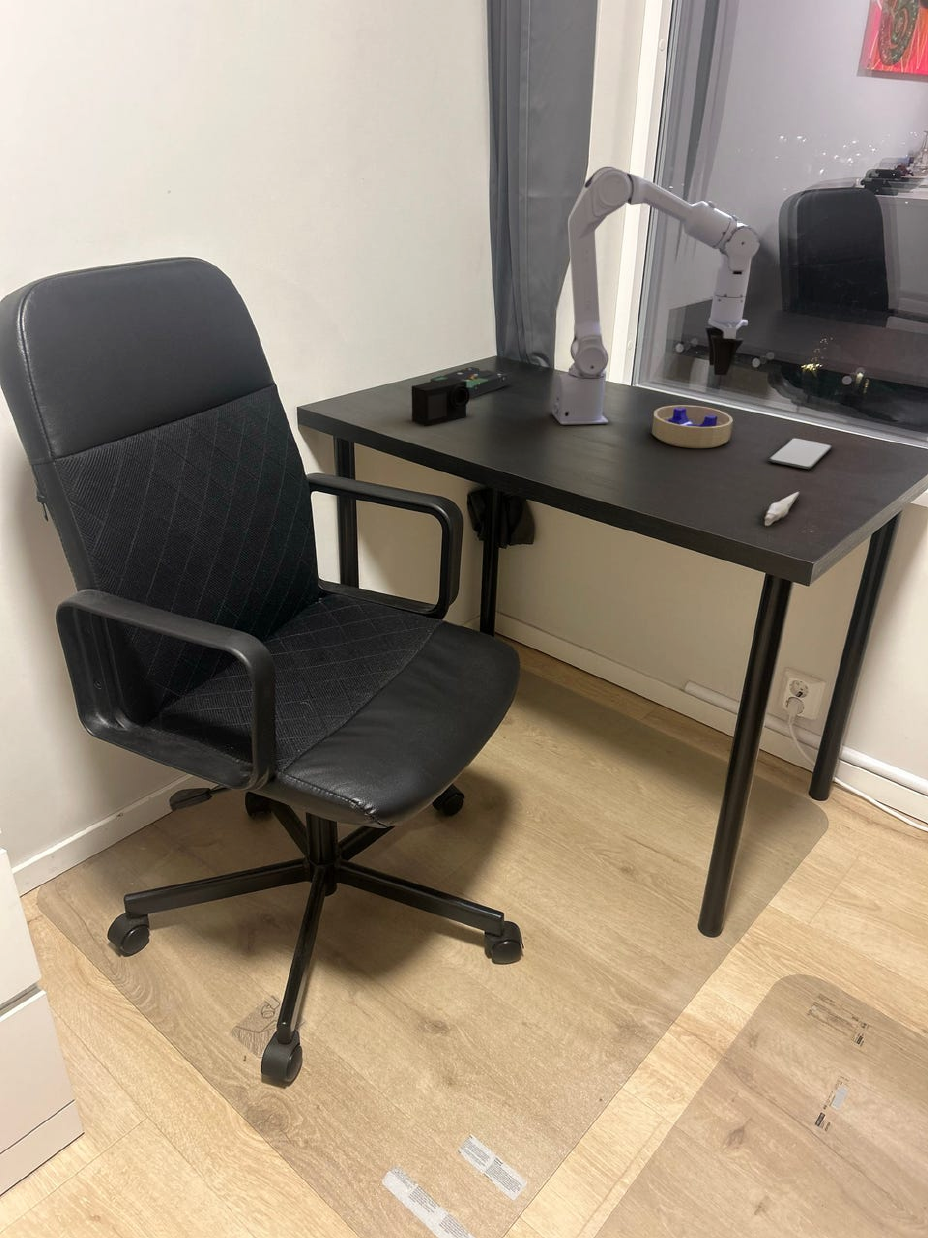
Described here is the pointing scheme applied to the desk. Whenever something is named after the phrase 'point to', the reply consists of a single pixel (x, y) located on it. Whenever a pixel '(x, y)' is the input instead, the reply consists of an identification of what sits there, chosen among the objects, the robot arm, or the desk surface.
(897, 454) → the desk surface
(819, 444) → the smartphone
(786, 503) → the spindle seashell
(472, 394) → the disk drive
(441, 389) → the digital camera
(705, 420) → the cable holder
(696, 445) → the bowl
